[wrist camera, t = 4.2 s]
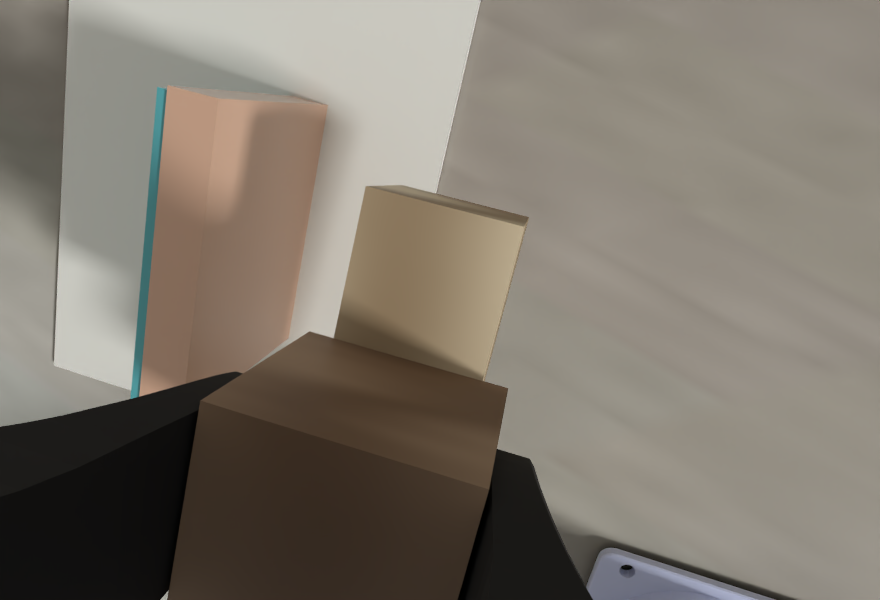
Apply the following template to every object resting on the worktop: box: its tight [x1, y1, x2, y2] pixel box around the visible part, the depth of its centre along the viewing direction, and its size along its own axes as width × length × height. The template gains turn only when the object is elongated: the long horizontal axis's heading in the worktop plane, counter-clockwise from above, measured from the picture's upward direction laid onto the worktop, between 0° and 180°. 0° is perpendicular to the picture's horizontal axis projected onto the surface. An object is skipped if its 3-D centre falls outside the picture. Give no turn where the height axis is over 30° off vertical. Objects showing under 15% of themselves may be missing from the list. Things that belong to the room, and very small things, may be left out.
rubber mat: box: [54, 0, 481, 390], centre depth 21 cm, size 13×16×1 cm
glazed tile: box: [131, 85, 328, 399], centre depth 18 cm, size 2×8×6 cm, turn 167°
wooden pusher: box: [167, 185, 529, 600], centre depth 12 cm, size 4×10×7 cm, turn 167°
